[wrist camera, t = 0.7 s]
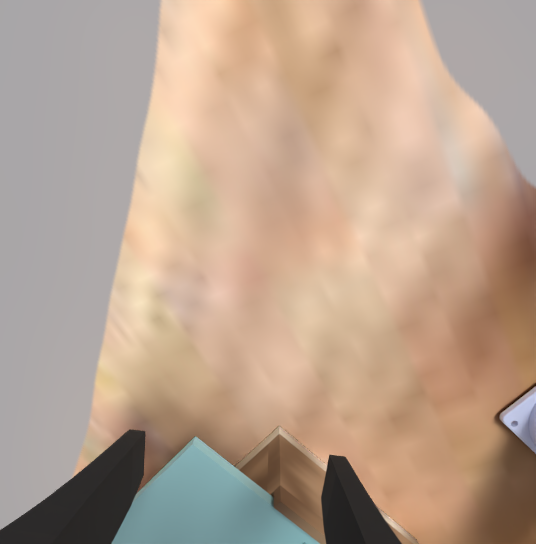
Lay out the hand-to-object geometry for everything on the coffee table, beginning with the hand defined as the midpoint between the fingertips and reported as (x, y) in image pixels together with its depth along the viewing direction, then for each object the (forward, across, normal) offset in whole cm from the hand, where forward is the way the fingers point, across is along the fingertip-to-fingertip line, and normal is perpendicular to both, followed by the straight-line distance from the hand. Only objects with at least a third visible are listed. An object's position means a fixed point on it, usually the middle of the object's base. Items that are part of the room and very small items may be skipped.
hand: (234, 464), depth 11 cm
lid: (+5, 0, +12) cm, 13 cm away
